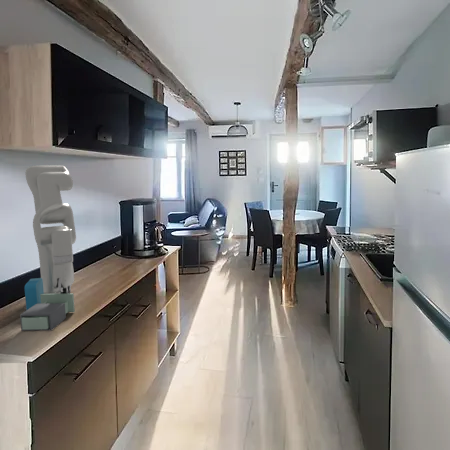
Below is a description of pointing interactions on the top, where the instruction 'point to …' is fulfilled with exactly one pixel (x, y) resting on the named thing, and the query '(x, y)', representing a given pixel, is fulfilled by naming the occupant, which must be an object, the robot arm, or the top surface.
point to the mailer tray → (43, 321)
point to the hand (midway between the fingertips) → (66, 302)
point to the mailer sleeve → (46, 314)
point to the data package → (33, 292)
